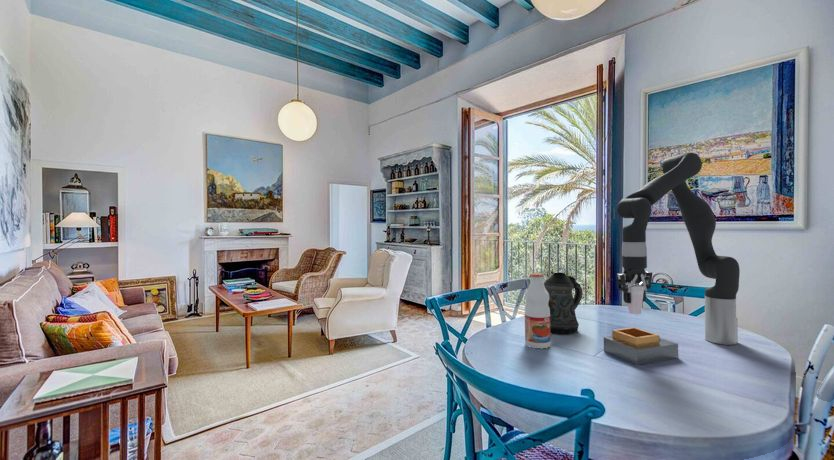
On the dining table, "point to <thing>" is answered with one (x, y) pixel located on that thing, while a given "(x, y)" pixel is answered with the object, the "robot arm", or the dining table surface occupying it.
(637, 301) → the smoothie
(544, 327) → the fruit juice
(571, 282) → the beer stein
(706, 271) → the robot arm
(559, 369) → the dining table surface
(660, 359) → the grey flat boxy piece
